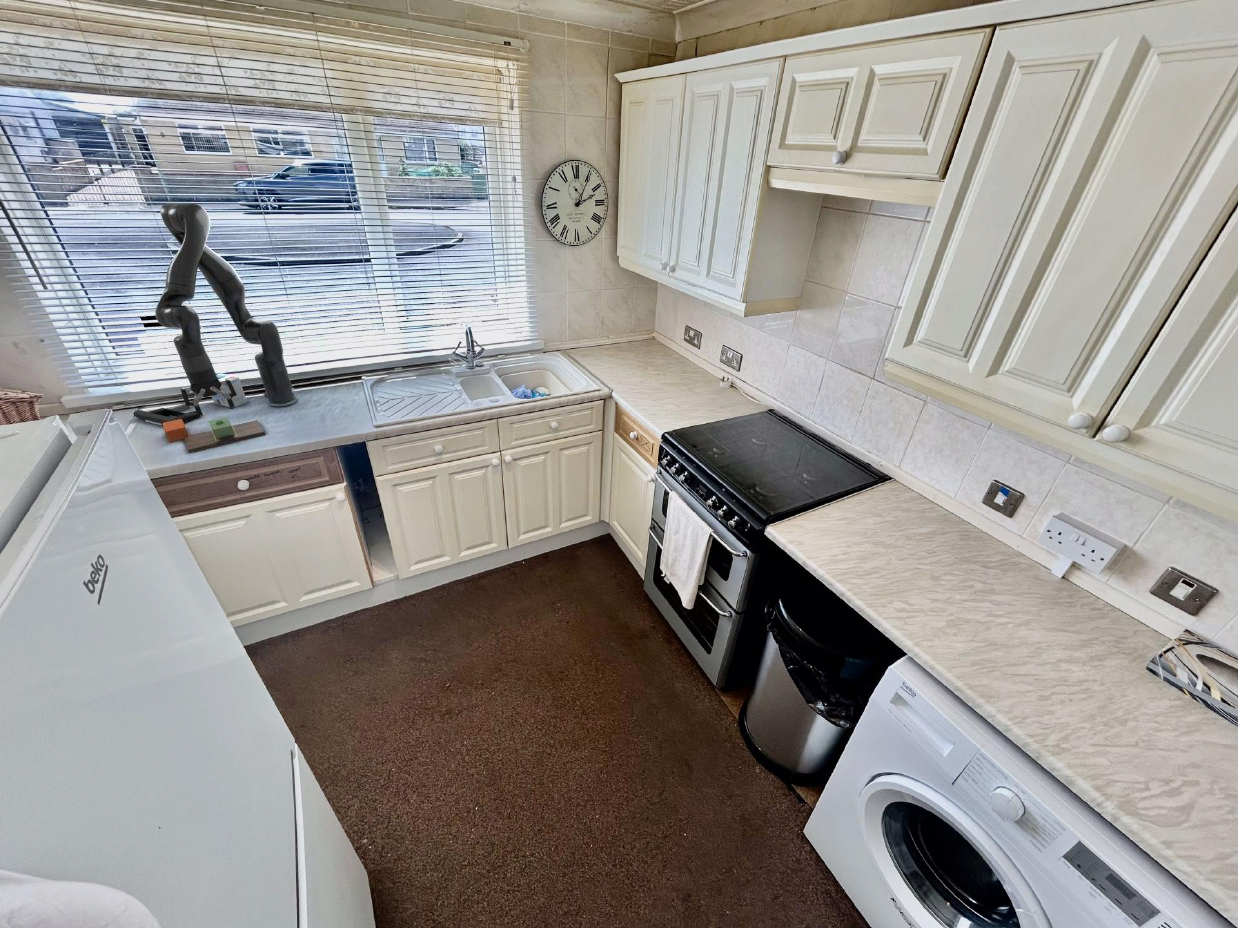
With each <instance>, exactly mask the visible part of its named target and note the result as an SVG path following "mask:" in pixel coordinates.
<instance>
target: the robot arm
mask: <svg viewBox="0 0 1238 928" xmlns="http://www.w3.org/2000/svg"><path fill="white" fill-rule="evenodd" d="M159 212H160V217H161V220H162V222H163V223H164V224H163V225H164V226H165V227H166V229H167V230H168V232H169V233H170V234H171V235H172V236H173V237H174V239H175V240H176V241H177V242H178V243H179V245H180V247H179V249H178V251H177V252H176V254H175V255H174V257H173V258H172V259H171V261H170V262H169V264H168V267H167V270H166V278H165V288H164V291H163V292H162V294H161V295H160V298H159V300H158V302H157V304H156V307H155V310H154V311H155V312H154V313H155V318H156V321H157V323H158V324H159V325H161V326H162V327H164V328H168V329H181V334H180V335H176V336H175V337H174V338H173V344H174V347H175V350H176V351H177V354H178V356H179V359H180V363H181V365H182V368H183V371H184V373H185V375H186V377H187V379H188V382H189V384H190V385H189V386H186V387H184V386H181V387H180V388H179V390H180V393H181V395H182V398H183V401H184V404H186V406H189V407H193V408H194V411H196V412H197V414H198V415H200V417H204V414H203V413H204V412H203V411H202V409H201V406H200V402H201V400H202V398H209V397H212V396H215V395H216V394H219V395H221V396H223V397H225V398H226V399H227V402H228V404H229V407H228V408H229V409H230V410H234V408H235V407H234V403H233V401H232V397H234V396H236V395H237V394H236V392H235V390H234V388H233V385H232V383H231V381H230V380H229V378H226V379H225V380H222V381H219V380H218V378H217V376H216V375H217V373H216V371H215V368H214V366H213V362H212V361H211V358H210V356H209V355H208V353H207V351H206V348H205V346H204V344H203V341H202V335H201V334H202V333H201V332H202V331H201V322H200V317H199V314H198V313H197V311H195V309H194V308H193V307H191V306H190V305H189V306H188V305H184V304H183V303H185V302H187V301H192V300H193V299H194V297H195V292H196V283H197V277H198V276H197V275H198V270H199V271H200V273H201V274H202V276H203V277H204V279H205V281H206V282H207V283H208V285H209V286H210V288H211V289H212V291H213V292H214V293H215V295H216V297H217V298H218V299H219V301H220V302H221V304H222V305H223V307H224V308H225V311H227V313H228V314H229V316H230V318H231V321H232V322H233V324H234V326H235V328H236V329H237V331H238V333H239V334H240V336H241V338H242V339H243V340H244V341H245V342H247V343H248V344H250V345H256V346H257V345H259V346H261V352H259V353H257V354H255V355H254V361H255V365H256V367H257V370H258V373H259V376H260V378H261V379H260V380H261V382H262V385H263V389H264V391H265V392H263V395H264V396H266V397H267V399H268V404H269V406H270V407H274V408H283V407H288V406H291V405H293V404H295V403H296V402H297V397H296V395H295V392H294V391H295V388H294V387H293V384H292V382H291V379H290V376H289V375H290V374H289V373H288V372H289V371H288V369H287V366H286V363H285V360H284V359H285V358H284V348H283V345H282V340H281V335H280V331H279V328H278V327H277V325H276V324H275V323H274V322H273V321H271V320H267V319H256V318H254V317H253V315H251V313H250V311H249V309H248V308H247V306H246V289H245V284H244V283H243V281H242V280H241V278H240V276H239V274H238V273H237V271H236V270H235V268H234V267H233V266H232V265H231V264H230V263H229V262H228V261H226V260H225V259H224V258H223V257H222V256H220V255H219V254H218V253H217V252H215V251H214V250H213V249H211V248H210V247H209V246H208V245H207V244H206V243H207V240H208V237H209V234H210V230H211V218H210V215H209V214H208V213H209V212H207V210H206V209H205V208H204V207H203V206H202V205H200V204H197V203H194V202H193V203H192V202H167V203H164V204H162V205H161V207H160V211H159ZM222 384H224V385H225V386H228V387H229V389H230V391H231V393H229V394H228V393H226V392H225V391H223V390H222V389H220V388H221V385H222ZM190 392H193V393H195V394H194V396H193V397H194V398H193V400H190V399H189V396H188V395H189V394H190Z"/></svg>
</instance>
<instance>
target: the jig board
mask: <svg viewBox="0 0 1238 928" xmlns="http://www.w3.org/2000/svg"><path fill="white" fill-rule="evenodd" d="M232 428H233V430H234V433H235V436H233V435H229V436H225V437H221V438H219V439H220V440H216V438H215V435H214V433H213V431H212V429H211V430H208V431H202V432H198V433H194V434H190V435H189V434H188V436H185V437H184V439H183V440H184V442H185V446H186V448H187V450H188V453H193V452H194V453H195V452H198V451H202V450H207V449H211V448H214V447H219V446H222V445H226V444H230V443H236V442H239V441H243V440H247V439H252V438H255V437H260V436H264V435H266V433H265V431H264V428H263V427H262V425H261V424H260V422H259V421H258V419H255V420H251V421H247V422H243V423H239V424H234V425H232Z"/></svg>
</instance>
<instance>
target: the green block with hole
mask: <svg viewBox="0 0 1238 928" xmlns="http://www.w3.org/2000/svg"><path fill="white" fill-rule="evenodd" d="M208 423H209V425H210V428H211V430H212V431H213V433H214V435H215V438H216V440H220V439H219V438H221V437H225V436H229V435H233V436H235V433H234V430H233V428H232V426H233V425H232V424H231V421H230V420H229V417H228V416H226V417H220V418H217V419H211V420H208Z"/></svg>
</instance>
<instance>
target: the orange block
mask: <svg viewBox="0 0 1238 928" xmlns="http://www.w3.org/2000/svg"><path fill="white" fill-rule="evenodd" d="M162 426H163V431H164V433H165V436H166V437H167V440H168V442H169V443H171V442H176V441H180V440H185V439H184V437H185V436H189V432H188V430H187V427H186V424H185V422H183V420H182V419H178V420H174V421H169V422H164V423H163V425H162Z"/></svg>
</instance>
